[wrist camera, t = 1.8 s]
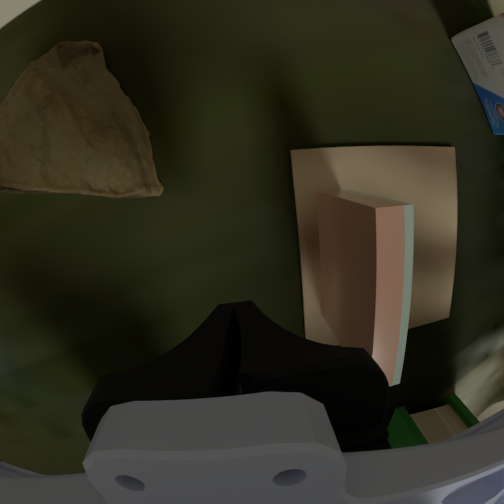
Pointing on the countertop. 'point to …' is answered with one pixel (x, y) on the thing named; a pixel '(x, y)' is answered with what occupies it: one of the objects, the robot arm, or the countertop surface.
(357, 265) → the tile
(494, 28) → the ink box
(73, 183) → the rock
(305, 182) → the mat
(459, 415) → the hardback book
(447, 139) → the countertop surface
